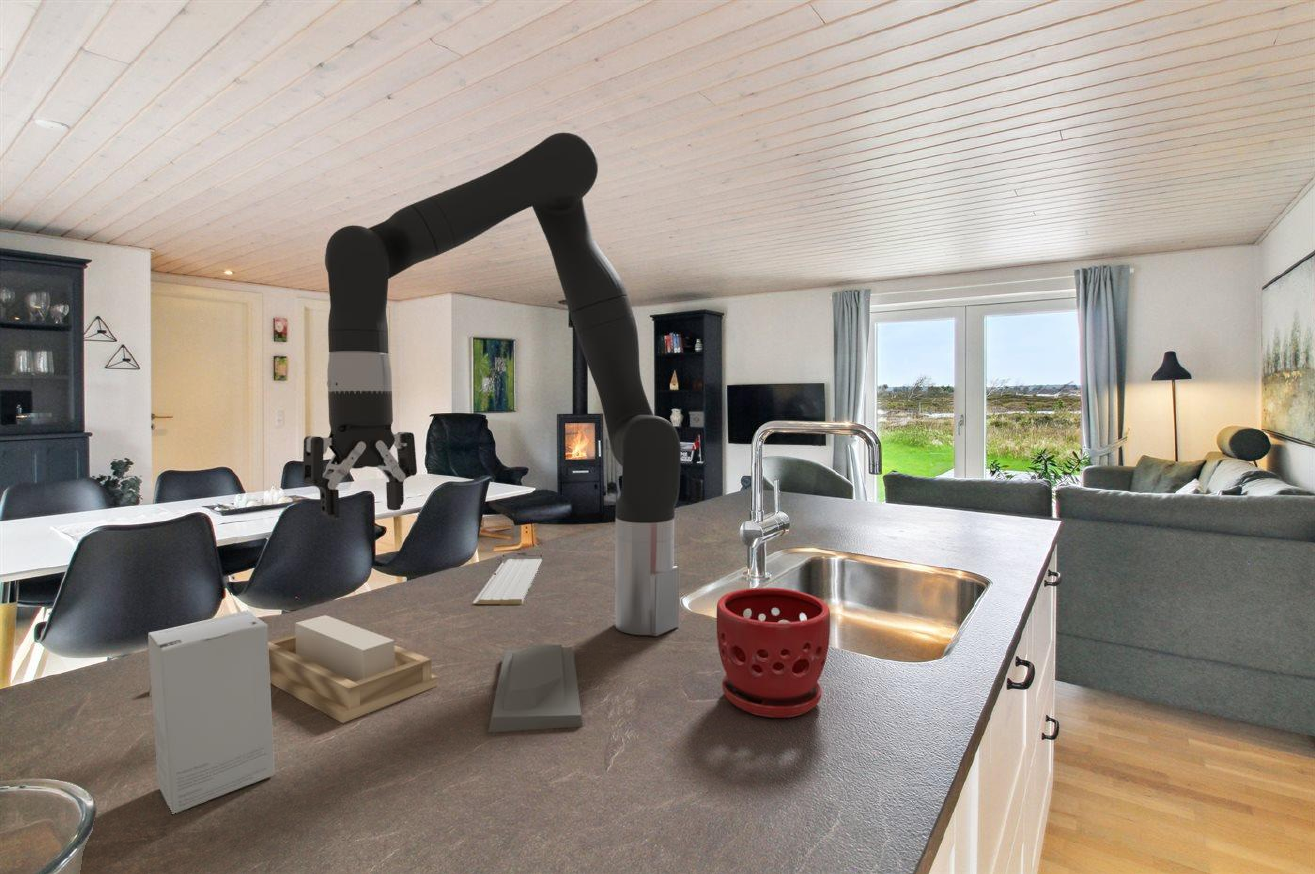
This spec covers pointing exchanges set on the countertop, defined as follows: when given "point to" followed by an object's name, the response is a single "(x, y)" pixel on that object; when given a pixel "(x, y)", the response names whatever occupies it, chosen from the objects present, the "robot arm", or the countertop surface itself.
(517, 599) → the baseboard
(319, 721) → the countertop surface
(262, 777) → the skincare box
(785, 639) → the plant pot
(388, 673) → the tray
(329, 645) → the white rectangular block
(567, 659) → the soap mold
